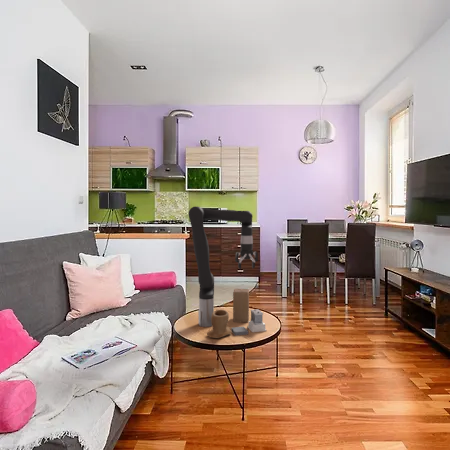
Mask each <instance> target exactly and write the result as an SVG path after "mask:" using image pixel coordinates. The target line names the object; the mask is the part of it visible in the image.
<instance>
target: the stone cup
mask: <svg viewBox="0 0 450 450" xmlns="http://www.w3.org/2000/svg"><path fill="white" fill-rule="evenodd" d="M229 318H230V316H229V312H228V310H226V309H216V310H214V312H213V313H212V315H211V323H212V326H211V327H212V330H209V331H207V332H206V336H208V337H210V338H211V339H220V338H223V337H225V336H228V335H231V334H233V332H232V331H231V328H230V327H229V326H228V323H229V321H230V320H229Z"/></svg>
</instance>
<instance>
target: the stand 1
mask: <svg viewBox="0 0 450 450" xmlns="http://www.w3.org/2000/svg"><path fill="white" fill-rule="evenodd" d="M230 330H231V331H232V334H233V335H234V336H244V335H245V336H246V335H249V330H248V328H246V327H245V326H235V327H230Z"/></svg>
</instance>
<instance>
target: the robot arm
mask: <svg viewBox="0 0 450 450" xmlns="http://www.w3.org/2000/svg"><path fill="white" fill-rule="evenodd" d="M253 216H254V215H253V212H251V211H249V210H235V209H210V208H205V207H200V206H193V207H191V208H190V209H189V211H188V218H189V221H190V226H191V231H192V242H193V243H192V244H193V250H194V252H193V253H194V256H195V261H196V265H197V271H198V272H197V275H198V284H199V293H198V326H199V327H204V328H208V327H212V323H211V315H212V313H213V312H214V311H215V307H214V306H215V305H214V304H215V302H214V301H215V299H214V298H215V297H214V296H215V277H214V275H213V273H212V272H211V268H210V247H209V246H210V245H209V241H208V238H207V234H206V232H205V227H204V221H205V220H206V221H207V220H215V221H223V222H241V227H240V228H241V229H240V252H238V251H237V252H235V256H234V258H235V259H234V260H235V262H236V263H237V267H238V269H239V270H242V261H244V260H251V268H252V269H255V267H256V263H257V262H259V257H258V256H259V255H258V254H259V253H258V252H257V251H253V249H254V248H253V247H254V246H253V243H254V238H253ZM253 256H254V257H253Z"/></svg>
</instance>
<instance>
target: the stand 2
mask: <svg viewBox="0 0 450 450" xmlns="http://www.w3.org/2000/svg"><path fill="white" fill-rule="evenodd" d="M246 327H247V329H249V330H250V332H252V333H258V332H259V333H260V332H267V329H266V323H265V322H263V324H262V325H254V324H253V323H252V322H251V320H249V321H248V326H246Z"/></svg>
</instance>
